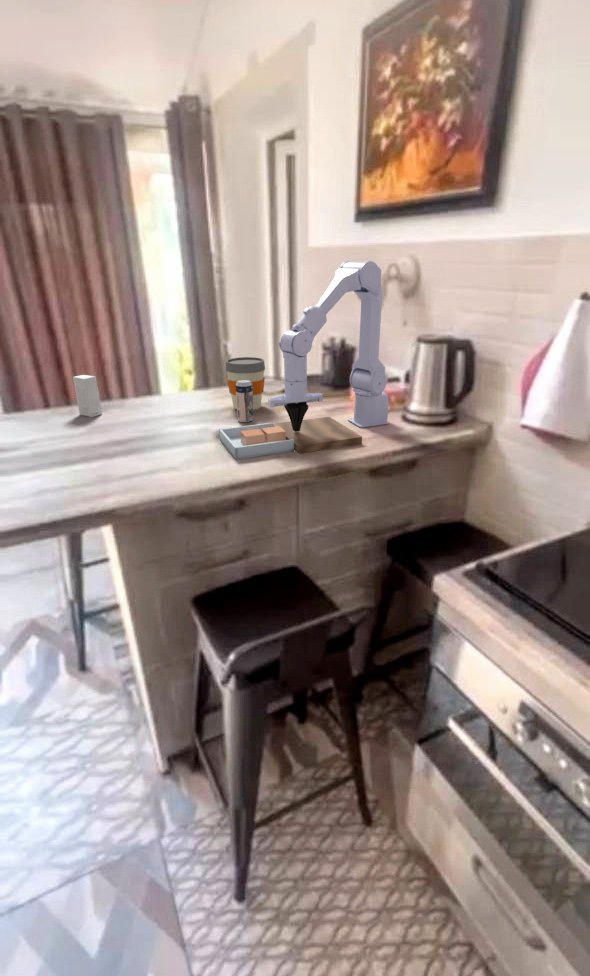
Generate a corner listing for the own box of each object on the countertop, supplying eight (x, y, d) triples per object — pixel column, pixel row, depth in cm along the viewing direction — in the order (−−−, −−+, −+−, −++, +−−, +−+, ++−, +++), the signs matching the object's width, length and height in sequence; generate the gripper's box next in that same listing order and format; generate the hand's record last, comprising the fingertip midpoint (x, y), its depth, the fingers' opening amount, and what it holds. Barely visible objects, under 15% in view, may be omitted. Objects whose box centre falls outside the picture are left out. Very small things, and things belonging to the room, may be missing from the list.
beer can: (251, 423, 152) (249, 383, 147) (235, 422, 152) (233, 382, 148) (255, 419, 156) (253, 379, 151) (240, 418, 157) (238, 379, 152)
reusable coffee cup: (265, 412, 163) (263, 364, 157) (225, 412, 163) (222, 364, 157) (267, 401, 174) (266, 356, 168) (230, 402, 174) (227, 357, 168)
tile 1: (258, 439, 137) (258, 428, 135) (264, 445, 132) (264, 434, 131) (240, 442, 135) (240, 431, 134) (246, 447, 131) (245, 436, 129)
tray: (272, 432, 144) (272, 422, 142) (293, 451, 130) (293, 439, 129) (219, 439, 138) (218, 429, 137) (235, 459, 125) (235, 448, 124)
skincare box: (102, 414, 162) (96, 376, 157) (91, 417, 159) (84, 379, 154) (90, 411, 165) (83, 374, 160) (79, 414, 162) (71, 376, 157)
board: (329, 423, 151) (329, 416, 150) (361, 444, 134) (362, 436, 134) (271, 430, 145) (271, 423, 145) (298, 453, 128) (297, 446, 128)
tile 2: (279, 436, 139) (279, 426, 137) (286, 442, 134) (285, 431, 133) (261, 439, 137) (261, 428, 136) (267, 444, 133) (267, 433, 131)
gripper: (315, 374, 137) (315, 422, 143) (263, 379, 132) (265, 429, 138) (326, 379, 131) (325, 430, 137) (272, 384, 126) (274, 437, 132)
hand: (296, 430), depth 137 cm, fingers closed
